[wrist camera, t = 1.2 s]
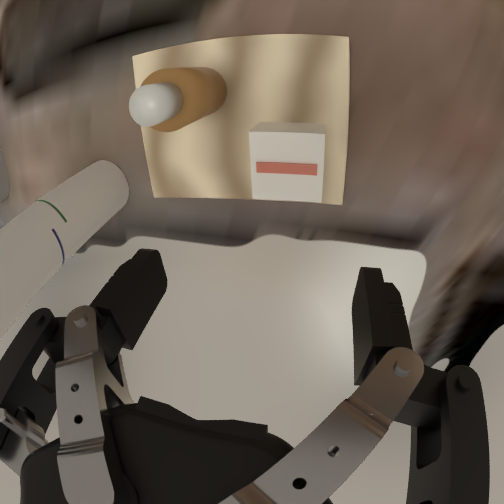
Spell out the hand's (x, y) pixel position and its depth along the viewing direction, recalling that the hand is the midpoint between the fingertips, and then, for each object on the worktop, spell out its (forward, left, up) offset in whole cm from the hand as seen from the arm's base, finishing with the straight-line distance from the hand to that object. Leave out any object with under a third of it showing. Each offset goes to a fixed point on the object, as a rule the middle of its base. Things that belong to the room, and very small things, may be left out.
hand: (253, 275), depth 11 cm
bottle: (+8, -6, -17) cm, 20 cm away
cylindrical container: (+23, +4, -19) cm, 30 cm away
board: (+5, -3, -19) cm, 20 cm away
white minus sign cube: (0, 0, -17) cm, 17 cm away
